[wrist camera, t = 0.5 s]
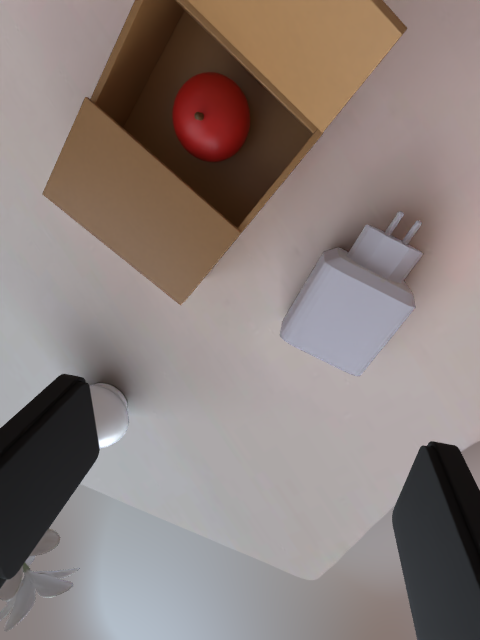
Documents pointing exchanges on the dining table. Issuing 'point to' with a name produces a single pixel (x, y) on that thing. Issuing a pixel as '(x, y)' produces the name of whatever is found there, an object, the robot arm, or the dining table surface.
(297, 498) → the dining table surface
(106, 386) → the flower vase
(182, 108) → the apple
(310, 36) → the flap
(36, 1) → the dining table surface
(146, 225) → the cardboard box
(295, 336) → the charger
